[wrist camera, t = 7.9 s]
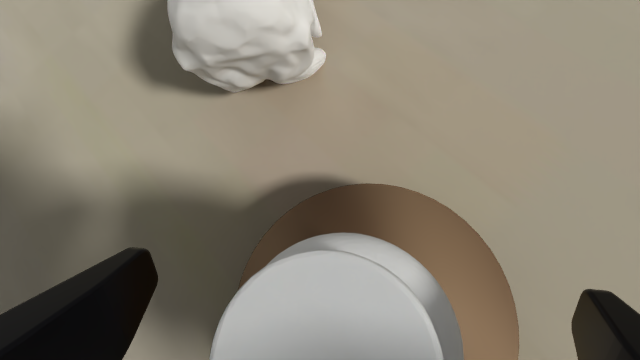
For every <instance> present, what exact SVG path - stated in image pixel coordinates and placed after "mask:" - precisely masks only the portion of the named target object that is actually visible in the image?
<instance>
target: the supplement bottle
mask: <svg viewBox="0 0 640 360" xmlns="http://www.w3.org/2000/svg"><path fill="white" fill-rule="evenodd" d="M209 360H464V354H463V342H462V337H461V332H460V327H459V324H458V321H457V318H456V315H455V312H454V310H453V308H452V306H451V304H450V301H449V300H448V298H447V296H446V294H445V292H444V291H443V289H442V288H441V286H440V285H439V283H438V282H437V280H436V279H435V278H434V277H433V276H432V274H431V273H430V272H429V271H428V270H427V269H426V268H425V267H424V266H423V265H422V264H421V263H420V262H419V261H417V260H416V259H415V258H413V257H412V256H411V255H410V254H408V253H407V252H405V251H404V250H402V249H400V248H399V247H397V246H395V245H393V244H391V243H389V242H386V241H384V240H381V239H378V238H375V237H372V236H368V235H363V234H357V233H330V234H324V235H319V236H315V237H311V238H308V239H306V240H303V241H301V242H298V243H296V244H294V245H292V246H291V247H289V248H287V249H286V250H284V251H283V252H281V253H279V254H278V255H277V256H276V257H274V258H273V259H272V260H271V261H270V262H269V263H268V264H267V265H266V266H265V267H264V268H263V269H261V270H260V271H258V272H257V273H256V274H254V275H253V276H252V277H251V278H250V279H249V280H248V281H247V282H246V283H245V284H244V285H243V286H242V287H241V288H240V289H239V290H238V292H237V293H236V294H235V295H234V297H233V298H232V299H231V301H230V303H229V304H228V306H227V307H226V309H225V311H224V313H223V315H222V317H221V319H220V321H219V324H218V326H217V329H216V332H215V335H214V338H213V342H212V347H211V353H210V359H209Z"/></svg>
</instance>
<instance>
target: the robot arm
mask: <svg viewBox="0 0 640 360" xmlns="http://www.w3.org/2000/svg"><path fill="white" fill-rule="evenodd" d="M157 282H158V275H157V271H156V268H155V266H154V263H153V260H152V257H151V254H150V252H149V251H148V250H147V249H144V248H134V247H132V248H127V249H125V250H123V251H121V252H120V253H118V254H116V255H114V256H112V257H110V258H108V259H106V260H104V261H102V262H100V263H98V264H97V265H95V266H93V267H91V268H89V269H87V270H85V271H83V272H81V273H79V274H77V275H75V276H74V277H72V278H70V279H68V280H66V281H64V282H62V283H60V284H58V285H56V286H54V287H52V288H51V289H49V290H47V291H45V292H43V293H41V294H39V295H37V296H35V297H33V298H31V299H29V300H28V301H26V302H24V303H22V304H20V305H18V306H16V307H14V308H12V309H10V310H8V311H6V312H5V313H3V314H1V315H0V360H122V359H123V357H124V355H125V354H126V352H127V350H128V348H129V346H130V344H131V342H132V340H133V338H134V336H135V333H136V331H137V329H138V327H139V324H140V322H141V320H142V318H143V315H144V313H145V311H146V309H147V306H148V304H149V302H150V300H151V297H152V295H153V293H154V291H155V288H156V286H157ZM572 334H573V338H574V343H575V347H576V352H577V356H578V360H640V314H639V313H637V312H636V311H635V310H634V309H632V308H631V307H630V306H629V305H627V304H626V303H625V302H624V301H622V300H621V299H620V298H619V297H617V296H616V295H615V294H613V293H612V292H610V291H605V290H594V289H586V290H584V291H583V292H582V294H581V296H580V299H579V302H578V304H577V307H576V310H575V313H574V315H573V318H572Z"/></svg>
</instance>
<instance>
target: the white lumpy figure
mask: <svg viewBox="0 0 640 360" xmlns="http://www.w3.org/2000/svg"><path fill="white" fill-rule="evenodd" d="M167 10H168V17H169V22H170V25H171V29H172V33H173V37H172V50H173V54H174V56H175V58H176V60H177V61H178V63H179V64H180V65H181V67H182V68H183V69H184V70H185V71H189V72H192V73H194V74H196V75H197V76H198V77H200V78H201V79H203V80H204V81H206V82H208V83H210V84H213V85H216V86H219V87H221V88H223V89H224V90H227V91H231V92H239V91H242V90H246V89H249V88H252V87H253V86H255V85H257V84H259V83H262V82H263V81H264V80H265V79H269V80H272V81H274V82H275V83H278V84H288V83H294V82H297V81H301V80H304V79H306V78H308V77H310V76H311V75H312V74H314V73H315V72H316V71H317V70H318V69H319V68H320V67H321V65H323V64H324V62H325V59H326V53H325V52H324V51H323V50H322V49H320V48H314V45H313V40H312V36H313V37H321V36H322V31H321V27H320V23H319V20H318V17H317V14H316V10H315V7H314V3H313V0H167Z"/></svg>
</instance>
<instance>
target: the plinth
mask: <svg viewBox="0 0 640 360" xmlns="http://www.w3.org/2000/svg"><path fill="white" fill-rule="evenodd" d="M330 233H357V234H363V235H368V236H372V237H375V238H378V239H381V240H384V241H386V242H389V243H391V244H393V245H395V246H397V247H399V248H400V249H402V250H404V251H405V252H407V253H408V254H410V255H411V256H412V257H413V258H415V259H416V260H417V261H419V262H420V263H421V264H422V265H423V266H424V267H425V268H426V269H427V270H428V271H429V272H430V273H431V274H432V276H433V277H434V278H435V279H436V280H437V282H438V283H439V285H440V286H441V288H442V289H443V291H444V292H445V294H446V296H447V298H448V300H449V301H450V304H451V306H452V308H453V310H454V312H455V315H456V318H457V321H458V324H459V327H460V332H461V337H462V342H463V354H464V360H518V354H519V326H518V320H517V313H516V307H515V303H514V300H513V296H512V293H511V290H510V286H509V284H508V282H507V279H506V277H505V275H504V273H503V270H502V268H501V266H500V264H499V263H498V261H497V259H496V258H495V256H494V254H493V253H492V251H491V249H490V248H489V247H488V246H487V244H486V243H485V242H484V240H483V239H482V238H481V237H480V235H479V234H478V233H477V232H476V231H475V230H474V229H473V228H472V227H471V226H470V225H469V224H468V223H467V222H466V221H465V220H464V219H462V218H461V217H460V216H458V215H457V214H456V213H455V212H453V211H452V210H451V209H449V208H448V207H446V206H444V205H442V204H441V203H439V202H437V201H436V200H434V199H432V198H430V197H427V196H425V195H423V194H420V193H418V192H415V191H412V190H408V189H405V188H402V187H397V186H391V185H385V184H356V185H347V186H343V187H338V188H334V189H330V190H328V191H325V192H322V193H319V194H317V195H315V196H313V197H311V198H309V199H307V200H305V201H303V202H301V203H300V204H298V205H297V206H295V207H294V208H292V209H291V210H289V211H288V212H287V213H286V214H284V215H283V216H282V217H281V218H280V219H279V220H278V221H276V222H275V224H274V225H273V226H272V227H271V228H270V229H269V230H268V231H267V232H266V234H265V235H264V236H263V238H262V239H261V240H260V242H259V243H258V245H257V246H256V248H255V249H254V251H253V253H252V255H251V257H250V259H249V261H248V263H247V265H246V267H245V270H244V272H243V275H242V278H241V280H240V284H239V288H238V290H239V289H240V288H241V287H242V286H243V285H244V284H245V283H246V282H247V281H248V280H249V279H250V278H251V277H252V276H253V275H254V274H256V273H257V272H258V271H260V270H261V269H263V268H264V267H265V266H266V265H267V264H268V263H269V262H270V261H271V260H272V259H273V258H274V257H276V256H277V255H278V254H279V253H281V252H283V251H284V250H286V249H287V248H289V247H291V246H292V245H294V244H296V243H298V242H301V241H303V240H306V239H308V238H311V237H315V236H319V235H324V234H330Z"/></svg>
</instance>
